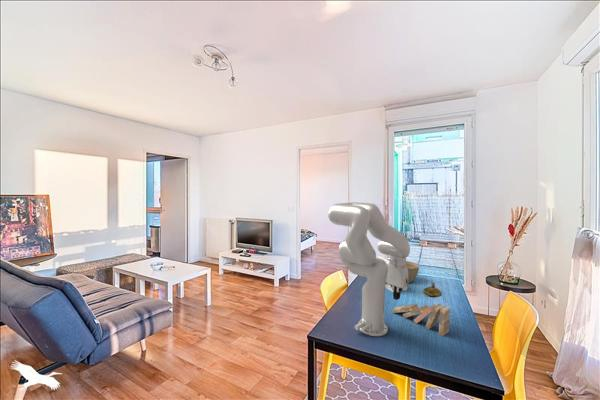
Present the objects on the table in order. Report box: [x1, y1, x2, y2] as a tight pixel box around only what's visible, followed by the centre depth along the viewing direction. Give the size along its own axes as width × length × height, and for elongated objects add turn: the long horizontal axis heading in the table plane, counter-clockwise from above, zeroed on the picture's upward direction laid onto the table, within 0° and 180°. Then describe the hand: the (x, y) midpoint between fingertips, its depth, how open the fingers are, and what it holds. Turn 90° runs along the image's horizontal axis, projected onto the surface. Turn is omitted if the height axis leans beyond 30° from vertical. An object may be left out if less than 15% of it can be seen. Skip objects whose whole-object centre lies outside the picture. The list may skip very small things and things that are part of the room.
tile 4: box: [438, 305, 451, 337], centre depth 110 cm, size 2×5×11 cm, turn 126°
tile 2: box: [413, 304, 436, 324], centre depth 117 cm, size 2×5×11 cm
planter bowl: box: [406, 260, 420, 284], centre depth 170 cm, size 16×16×11 cm
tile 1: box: [402, 304, 429, 319], centre depth 120 cm, size 2×5×11 cm
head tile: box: [392, 303, 419, 314], centre depth 125 cm, size 2×5×11 cm
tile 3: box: [424, 303, 445, 330], centre depth 113 cm, size 2×5×11 cm, turn 126°
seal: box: [422, 282, 442, 298], centre depth 151 cm, size 9×5×15 cm
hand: (396, 298), depth 128 cm, fingers closed
